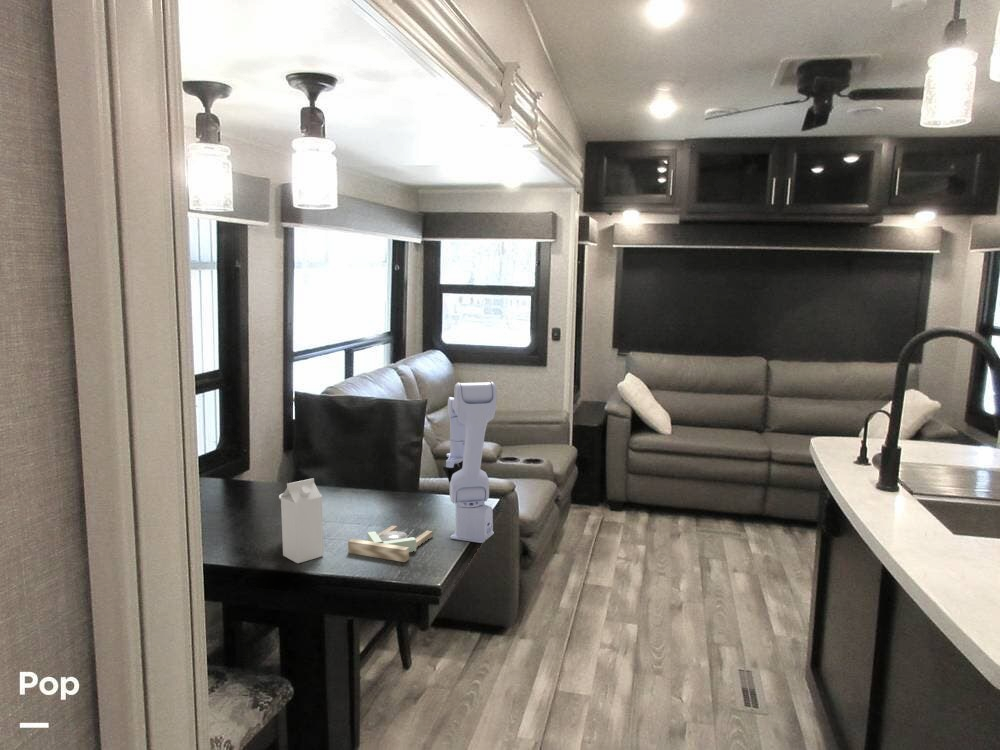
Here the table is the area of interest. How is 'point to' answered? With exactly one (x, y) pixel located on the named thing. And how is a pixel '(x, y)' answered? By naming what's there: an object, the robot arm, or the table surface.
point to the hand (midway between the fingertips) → (460, 486)
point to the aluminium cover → (392, 535)
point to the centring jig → (387, 545)
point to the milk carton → (302, 521)
